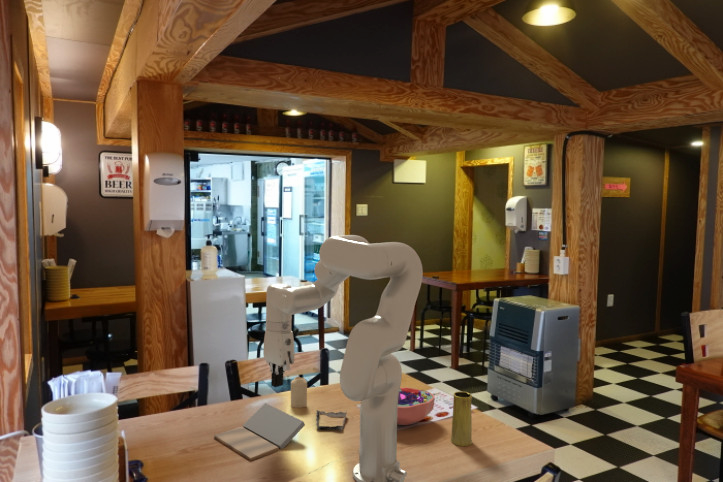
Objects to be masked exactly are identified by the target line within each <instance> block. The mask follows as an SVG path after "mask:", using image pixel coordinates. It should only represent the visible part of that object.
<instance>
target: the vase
mask: <svg viewBox="0 0 723 482" xmlns="http://www.w3.org/2000/svg"><path fill="white" fill-rule="evenodd" d="M472 398H473V397H472V394H471V393H470V392H467V391H461V390H460V391H456V392H453V401H452V402H453V403H452V405H453V406H452V421H451V435H450V441H451V443H452V444H454V445H455V446H459V447H468V446H471V445H472V444H473V441H472V440H473V439H472V429H473V428H472V426H473V425H472V424H473V422H472V420H473V419H472Z"/></svg>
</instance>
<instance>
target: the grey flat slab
mask: <svg viewBox="0 0 723 482" xmlns="http://www.w3.org/2000/svg"><path fill="white" fill-rule="evenodd" d="M305 426H306V423H305V421H303V420H301V419H299V418H297V417H295V416H293V415H291V414H290V413H287V412H285V411H282V410H280V409H278V408H276V407H274V406H272V405H270V404H268V403H266V402H265V403H264V404H263V405H261V407H260V408H259V409H258V410H257V411H255V412H254V413H253V415H252V416H250V418H249V419H248V420H247V421H245V423H243V424H242V427H243V428H245V429H247V430H248V431H250V432H252V433H254V434H256V435H257V436H259V437H261V438H263V439H264V440H266V441H268V442H270V443H272V444H273V445H275V446H277V447H278V449H281V450H282V449H284V448H286V446H287V445H288V444H289V443H290V442H291V441H292V440H293V439H294V438H295V437H296V435H297V434H298V433H299V432H300V431H301V430H302V429H303V428H304V427H305Z"/></svg>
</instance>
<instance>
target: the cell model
mask: <svg viewBox="0 0 723 482" xmlns="http://www.w3.org/2000/svg"><path fill="white" fill-rule="evenodd" d="M435 399H436V397H435V395H434V394H433V393H431V392H430V391H427V390H424V389H418V388H417V389H416V388H412V387H400V390H399V396H398V412H397V425H399V426H408V425H412V424H413V425H414V424H416V423H417V422H420V421H422V420H424V419H425V418H426V417H427V416H428V415H429V414H431V412H432V411H433V409H434V407H435Z"/></svg>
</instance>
